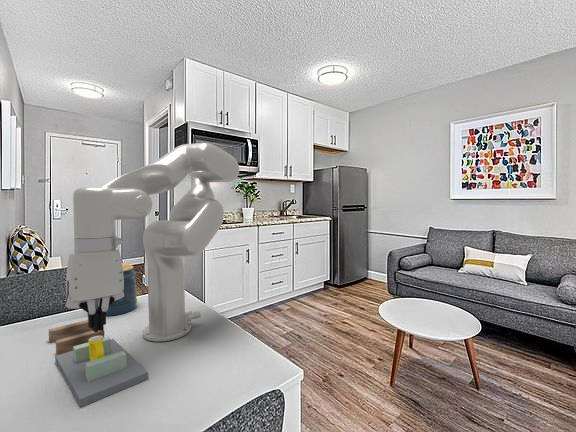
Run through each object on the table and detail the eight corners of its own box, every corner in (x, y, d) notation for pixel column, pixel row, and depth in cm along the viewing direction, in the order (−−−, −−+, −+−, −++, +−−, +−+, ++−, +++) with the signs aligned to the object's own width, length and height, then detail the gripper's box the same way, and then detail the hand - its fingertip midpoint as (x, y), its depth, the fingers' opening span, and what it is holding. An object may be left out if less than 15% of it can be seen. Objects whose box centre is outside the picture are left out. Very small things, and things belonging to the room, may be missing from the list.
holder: (92, 329, 87) (92, 318, 87) (104, 341, 80) (104, 330, 80) (49, 340, 80) (48, 329, 80) (57, 355, 73) (57, 343, 72)
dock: (113, 344, 78) (112, 327, 78) (148, 378, 63) (147, 357, 63) (55, 362, 69) (54, 343, 69) (80, 407, 54) (79, 383, 54)
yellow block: (85, 363, 67) (84, 336, 67) (100, 358, 69) (98, 332, 69) (93, 372, 63) (92, 343, 63) (108, 366, 65) (107, 339, 65)
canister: (143, 308, 104) (142, 257, 103) (101, 320, 94) (99, 263, 93) (128, 300, 112) (127, 253, 111) (88, 309, 103) (86, 258, 102)
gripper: (126, 240, 73) (127, 316, 74) (48, 247, 62) (50, 335, 63) (138, 243, 68) (140, 324, 68) (55, 251, 57) (58, 347, 58)
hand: (97, 329), depth 66 cm, fingers closed
